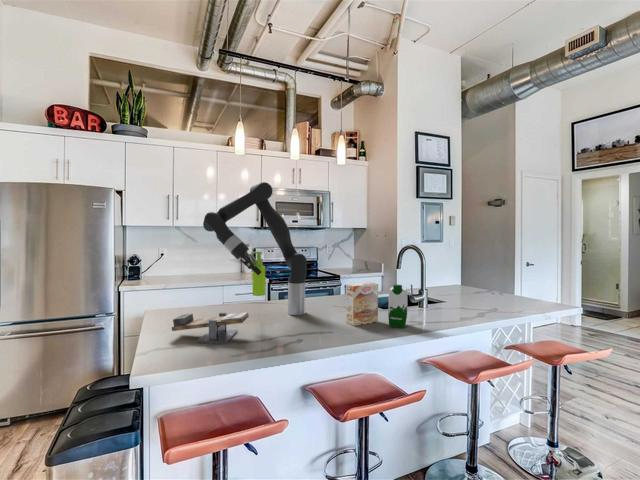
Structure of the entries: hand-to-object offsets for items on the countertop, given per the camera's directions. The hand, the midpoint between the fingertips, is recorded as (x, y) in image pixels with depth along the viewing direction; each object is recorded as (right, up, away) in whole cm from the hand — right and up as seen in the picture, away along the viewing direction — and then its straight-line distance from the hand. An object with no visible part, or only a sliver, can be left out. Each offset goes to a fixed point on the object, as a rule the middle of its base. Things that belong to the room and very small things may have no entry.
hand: (261, 272), depth 161 cm
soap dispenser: (-2, -10, 0) cm, 11 cm away
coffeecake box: (+48, -26, +13) cm, 56 cm away
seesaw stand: (-17, -27, -12) cm, 34 cm away
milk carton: (+65, -27, +8) cm, 71 cm away
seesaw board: (-19, -21, -12) cm, 31 cm away
